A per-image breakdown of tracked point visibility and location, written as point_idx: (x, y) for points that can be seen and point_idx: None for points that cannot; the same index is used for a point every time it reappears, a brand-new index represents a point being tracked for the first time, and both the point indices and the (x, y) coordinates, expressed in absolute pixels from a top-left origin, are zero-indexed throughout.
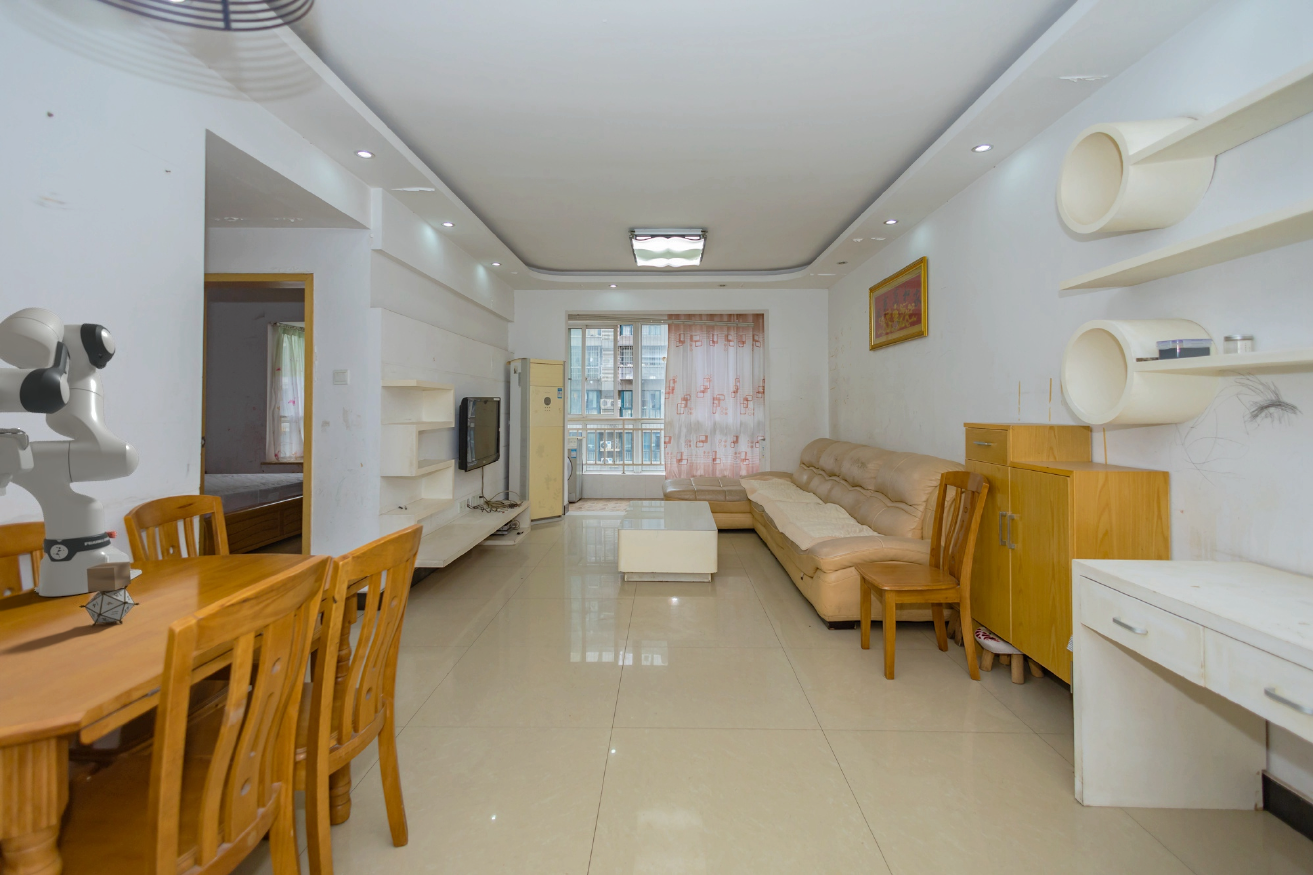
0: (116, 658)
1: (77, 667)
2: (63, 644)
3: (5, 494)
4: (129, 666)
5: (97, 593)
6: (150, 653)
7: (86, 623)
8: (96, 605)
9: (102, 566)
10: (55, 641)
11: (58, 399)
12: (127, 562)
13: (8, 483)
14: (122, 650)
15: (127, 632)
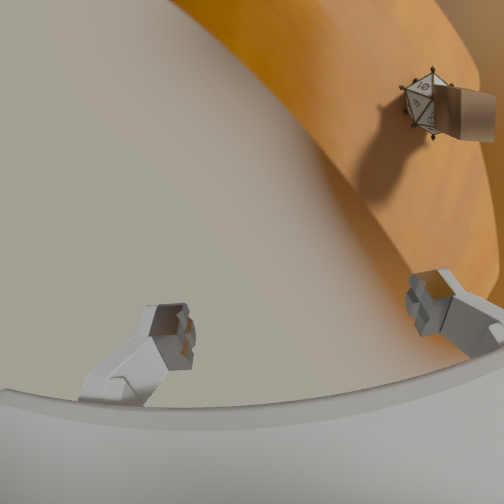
0: (474, 236)
1: (453, 254)
2: (410, 184)
3: (444, 269)
4: (486, 254)
5: (430, 106)
6: (493, 227)
7: (383, 92)
8: (433, 130)
9: (475, 127)
10: (393, 170)
11: None
12: (495, 102)
13: (485, 301)
14: (473, 215)
15: (457, 152)
